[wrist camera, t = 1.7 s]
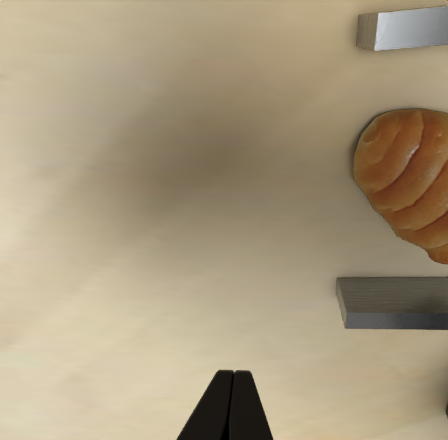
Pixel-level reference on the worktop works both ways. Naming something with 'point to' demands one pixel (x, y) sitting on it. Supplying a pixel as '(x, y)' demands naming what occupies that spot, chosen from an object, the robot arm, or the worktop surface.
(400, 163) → the pastry
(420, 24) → the rail pocket
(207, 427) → the robot arm
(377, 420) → the worktop surface
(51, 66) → the worktop surface
